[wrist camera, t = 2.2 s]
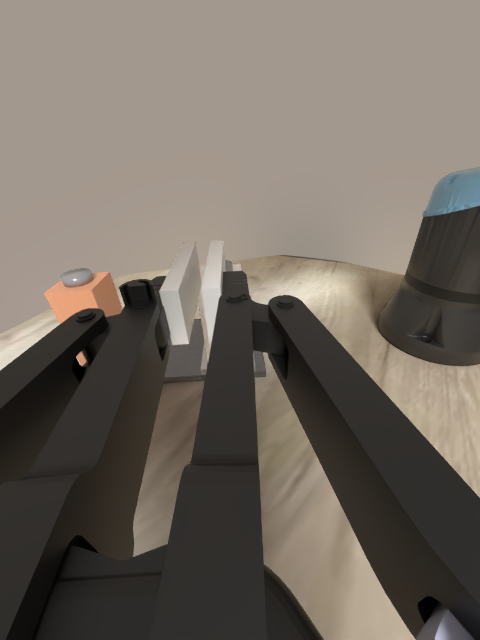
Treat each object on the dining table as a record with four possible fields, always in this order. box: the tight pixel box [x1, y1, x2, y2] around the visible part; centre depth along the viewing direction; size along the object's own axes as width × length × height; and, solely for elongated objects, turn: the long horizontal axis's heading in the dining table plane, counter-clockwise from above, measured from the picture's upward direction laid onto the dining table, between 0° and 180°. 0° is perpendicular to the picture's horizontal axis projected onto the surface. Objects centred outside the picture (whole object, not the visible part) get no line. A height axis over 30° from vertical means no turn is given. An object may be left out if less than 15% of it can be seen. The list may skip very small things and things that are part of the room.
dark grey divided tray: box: [163, 319, 266, 383], centre depth 40 cm, size 26×14×3 cm, turn 92°
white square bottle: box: [198, 260, 242, 361], centre depth 33 cm, size 5×5×14 cm
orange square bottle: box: [44, 268, 123, 365], centre depth 33 cm, size 5×5×14 cm
